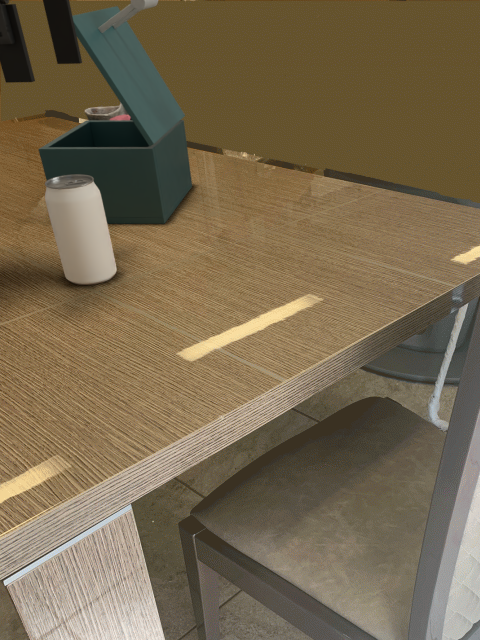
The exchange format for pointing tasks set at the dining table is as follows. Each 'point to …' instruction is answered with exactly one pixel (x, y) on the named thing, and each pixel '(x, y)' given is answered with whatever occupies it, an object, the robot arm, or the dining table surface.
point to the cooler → (124, 168)
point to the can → (80, 229)
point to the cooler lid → (129, 68)
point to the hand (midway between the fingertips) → (47, 72)
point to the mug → (105, 112)
